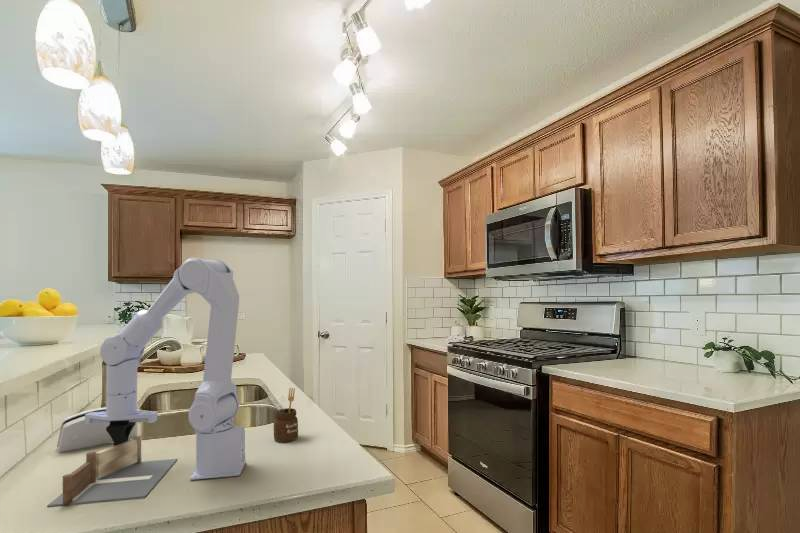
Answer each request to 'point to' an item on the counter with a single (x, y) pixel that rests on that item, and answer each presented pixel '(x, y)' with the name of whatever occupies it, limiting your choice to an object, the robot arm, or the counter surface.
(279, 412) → the utensil holder
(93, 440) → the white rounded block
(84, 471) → the fence post and rail
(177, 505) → the counter surface
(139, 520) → the counter surface
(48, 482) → the counter surface
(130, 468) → the mat
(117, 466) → the fence panel
